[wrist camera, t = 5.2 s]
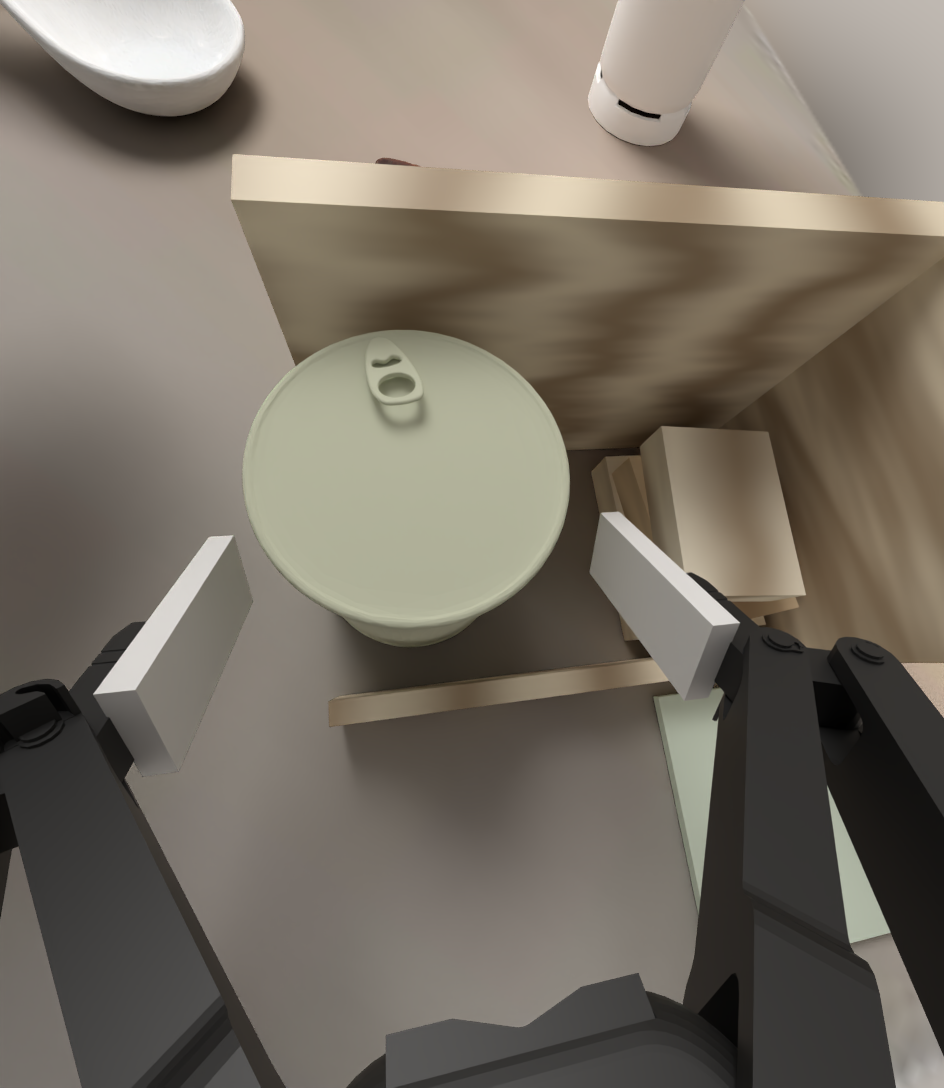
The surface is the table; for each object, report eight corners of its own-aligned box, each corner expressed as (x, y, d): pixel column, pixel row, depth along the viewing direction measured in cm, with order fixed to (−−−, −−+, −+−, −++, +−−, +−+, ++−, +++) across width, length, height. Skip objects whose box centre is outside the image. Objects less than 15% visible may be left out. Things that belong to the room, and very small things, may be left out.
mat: (709, 970, 20) (717, 978, 19) (653, 696, 23) (658, 697, 22) (954, 907, 22) (966, 912, 22) (873, 665, 25) (882, 665, 25)
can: (468, 463, 25) (517, 293, 13) (520, 616, 23) (629, 570, 12) (305, 501, 23) (201, 341, 12) (347, 671, 21) (271, 682, 10)
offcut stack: (624, 640, 23) (693, 633, 18) (591, 471, 26) (642, 417, 20) (742, 627, 24) (843, 616, 19) (699, 466, 27) (777, 413, 21)
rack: (340, 718, 20) (207, 822, 7) (331, 435, 24) (232, 153, 11) (779, 659, 24) (1230, 656, 11) (712, 423, 28) (986, 205, 15)
